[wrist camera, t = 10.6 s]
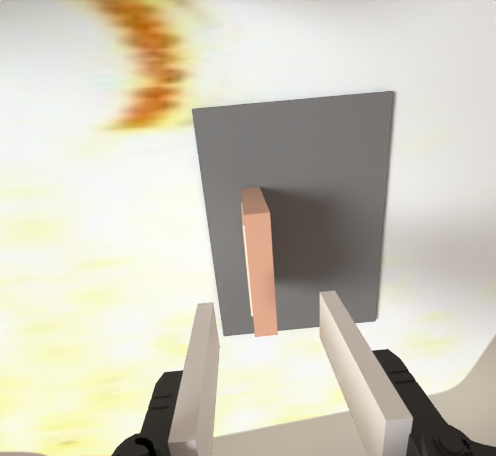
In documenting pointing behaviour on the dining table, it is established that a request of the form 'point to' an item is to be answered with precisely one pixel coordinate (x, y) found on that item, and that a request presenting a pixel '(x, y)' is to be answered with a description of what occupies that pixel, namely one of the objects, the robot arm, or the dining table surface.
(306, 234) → the rubber mat
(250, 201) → the terracotta tile
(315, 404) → the dining table surface
